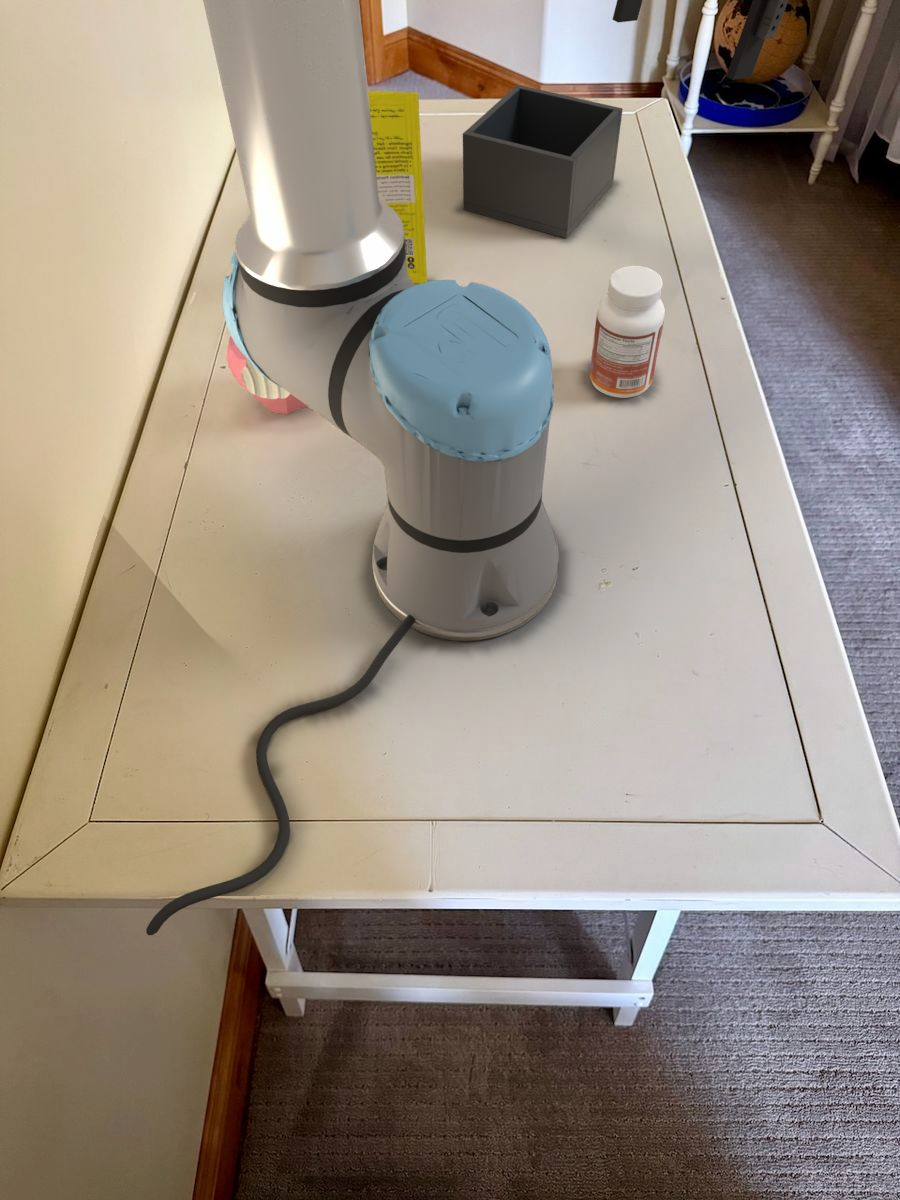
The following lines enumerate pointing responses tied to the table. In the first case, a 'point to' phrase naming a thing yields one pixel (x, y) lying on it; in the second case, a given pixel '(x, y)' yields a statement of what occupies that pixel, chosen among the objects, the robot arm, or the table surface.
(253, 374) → the apple
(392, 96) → the food package
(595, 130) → the trash bin
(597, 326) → the pill bottle
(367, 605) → the table surface
